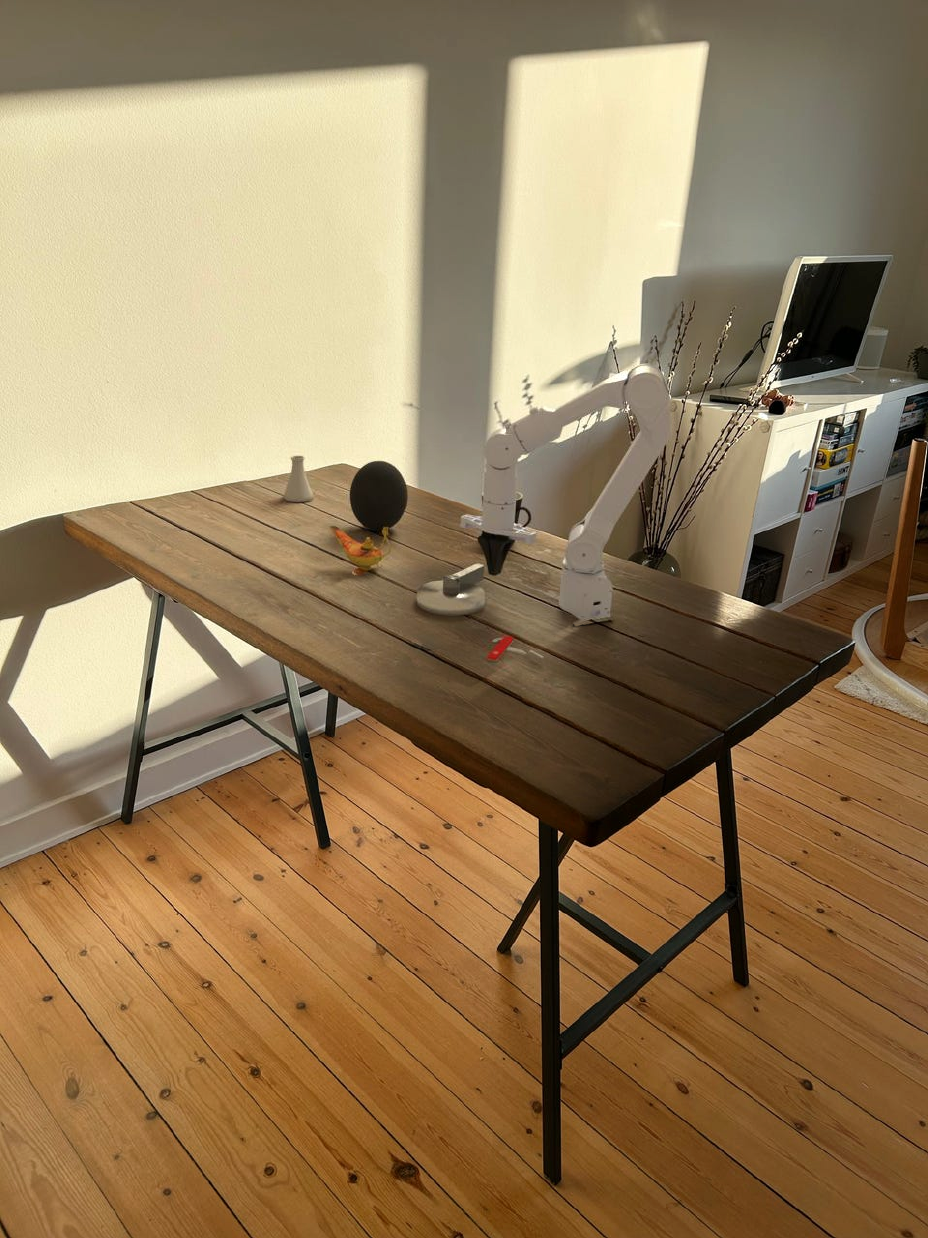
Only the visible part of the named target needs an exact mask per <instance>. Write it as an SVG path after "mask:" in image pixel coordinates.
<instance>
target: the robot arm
mask: <svg viewBox="0 0 928 1238" xmlns="http://www.w3.org/2000/svg"><path fill="white" fill-rule="evenodd" d="M625 403H627V405H628V406H629V408H630V410H631V411H632V412H633V414H634V415H635V416H636V420H637V424H638V427H639V432H638V433H637V435H636V436H635V438H634V440H633V441H632V443H631V445H630V446H629V448H628V450H627V451H626V453H625V455H624V456H623V458H622V459H621V461H620V463H619V464H618V466H617V467H616V469H615V470H614V472H613V474H612V475H611V477H610V478H609V481H608V482H607V484H606V485H605V487H604V488H603V490H602V491H601V494H600V495H599V497H598V498H597V499H596V501H595V503H594V505H593V507H591V508H590V510H589V511H588V512H586V515H585V516H584V518H583V519H582V520H581V521H580V522H578V523H576V524H574V526H572V528H571V529H570V530H569V533H568V536H567V538H568V540H567V542H568V543H567V546H566V548H565V551H564V552H565V553H564V555H565V556H564V557H565V558H563V560H562V568H561V576H560V577H561V578H560V587H559V588H560V590H559V600H558V606H559V608H560V609H562V611H565V612H568V613H569V614H571V615H573V616H574V617H575V618H577V620H578V619H579V620H580V621H584V620H590V619H600V618H605V617H610V615H611V609H612V600H613V599H612V598H613V588H614V587H613V584H612V582H611V581H610V579H609V578H608V577H607V576H606V573H605V562H604V561H603V556H604V555H603V554H604V548H605V545H606V544H607V542H609V539H610V536H611V533H612V532H613V530H614V527H615V525H616V524H617V522H618V521H619V518H621V515H622V514H623V513H624V511H625V509H626V507H628V505H629V503H630V501H631V500H632V499H633V497H634V495H635V494H636V492H637V491H638V489H639V488H640V486H641V484H642V483H643V481H644V480H645V478H646V476H647V474H648V473H649V471H650V470H651V468H652V467H653V465H654V464H655V463H656V461H657V459H658V457H659V456H660V454H661V453H662V451H663V449H664V448H665V446H666V445H667V443H668V441H669V440H670V438H671V435H672V420H671V418H672V417H671V416H672V415H671V398H670V391H669V387H668V384H667V382H666V379H665V376H664V374H663V373H662V371H661V370H660V369H659V368H658V367H657V366H655V365H653V364H650V363H641V364H637V365H636V366H634V367H633V368H632V369H630V370H629V371H628V369H627V370H624V371H621V372H619V373H617V374H615V375H613V376H611V377H608V378H607V379H605V380H603V381H602V382H599V383H598V384H596V385H595V386H593V387H591V388H589V389H588V390H586V391H584V392H583V393H580V394H579V395H577V396H575V397H574V398H572V399H571V400H569V401H567V402H565V403H564V404H562V405H560V406H559V407H557V408H551V407H548V406H542V407H541V408H538V407H537V406H534V407H532V408H530V409H529V412H528V413H529V414H528V415H526V416H523V417H521V418H520V419H518V420H516V421H515V422H511V421H509V422H508V421H507V422H506V423H505V424H504V427H503V428H502V427H501V428H498V429H496V430H495V431H493V432H492V433H491V434H490V436H489V438H488V439H487V440H486V443H485V445H484V449H483V456H484V458H485V460H486V461H485V465H484V466H485V472H484V474H483V475H484V476H483V492H482V493H483V508H481V510H482V511H481V516H480V515H479V516H478V515H471V514H464V515H462V516H461V517H460V527H461V528H462V529H463V528H464V529H467V528H469V529H473V530H477V531H480V532H481V534H480V535H478V537H477V542H478V544H479V545H480V548H481V550H482V552H483V555H484V557H485V558H484V559H485V562H486V567H487V571H488V572H487V573H488V575H491V576H493V577H495V576H498V575H500V574H501V573H502V570H503V567H504V563H505V561H506V559H507V556H508V554H509V552H510V550H511V549H512V547H513V545H514V543H515V542H516V541H517V542H521V543H524V545H525V546H526V545H527V546H532V545H534V544H536V542H537V541H536V540H537V539H536V538H537V532H536V531H532V530H530V529H528V528H526V527H525V528H524V527H521V526H522V525H519V524H515V509H516V494H517V492H518V479H519V478H518V477H519V476H518V459H519V456H524V455H525V456H526V455H529V454H531V453H533V452H535V451H537V450H539V449H540V448H542V447H545V446H546V445H549V444H550V443H553V442H554V441H556V440H557V439H560V438H561V434H562V431H563V429H564V427H566V426H568V425H570V424H573V423H575V422H576V421H578V420H580V419H582V418H585V417H587V416H589V415H591V414H593V413H595V412H597V411H599V410H601V409H604V408H607V407H608V408H609V407H610V408H614V409H615V408H617V409H623V410H624V409H625Z"/></svg>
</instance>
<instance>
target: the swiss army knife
mask: <svg viewBox="0 0 928 1238" xmlns="http://www.w3.org/2000/svg"><path fill="white" fill-rule="evenodd" d="M491 642H492V643H497V644H496V645H495V646H494V648H493V649H492V650H491V651H490V652H489V654H487V656H486V660H488V661H489V662H498V661H499V660H500V658H501V657H502V656H503V655H504V654H505V652H506V651H507V652H513V653H518V654H523V655H525V656H526V654H530V653H532V654H533V655H535V656H536V657H538V658H540V659H544V658H545V657H544V656H543V655H542V654H540V653H537V652H536V651H534V650H533V649H529V650H528V651H524V650H523V649H521V648H515V647H511V645H512V644H513V643H514V642H515V638H514V637H513V636H511V635H504V636H503V637H497V638H494V639H493V640H491Z"/></svg>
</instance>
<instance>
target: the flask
mask: <svg viewBox="0 0 928 1238" xmlns="http://www.w3.org/2000/svg"><path fill="white" fill-rule="evenodd" d="M290 461H291V472H290V475H289V479H288V482H287V484H286V489H285V490H284V493H283V496H282V499H284V500H285V501H286V502H294V503H295V502H296V503H304V502H311V501H313V499H314V498H315V496H314V493H313V490H312V489H311V486H310V483H309V481H308V477H307V474H306V471H305V466H304V461H305V456H304V455H291V456H290Z"/></svg>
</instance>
